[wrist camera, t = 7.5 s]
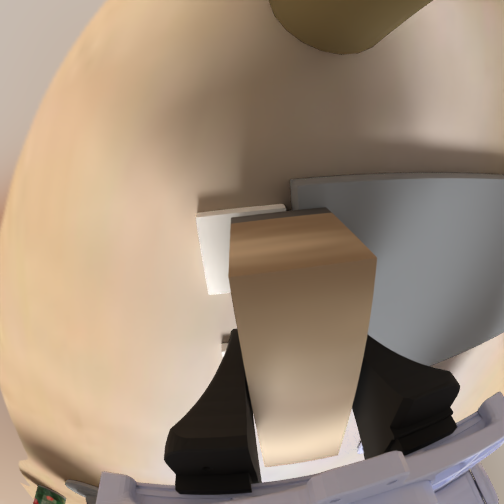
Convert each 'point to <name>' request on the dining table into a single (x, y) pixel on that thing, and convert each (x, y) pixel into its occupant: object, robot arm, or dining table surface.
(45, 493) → the canned tomato
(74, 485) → the mate gourd
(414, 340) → the slate board
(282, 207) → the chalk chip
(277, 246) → the block
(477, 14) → the dining table surface
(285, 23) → the cork
